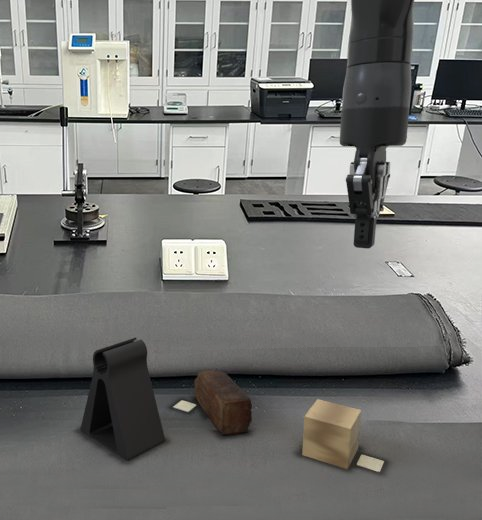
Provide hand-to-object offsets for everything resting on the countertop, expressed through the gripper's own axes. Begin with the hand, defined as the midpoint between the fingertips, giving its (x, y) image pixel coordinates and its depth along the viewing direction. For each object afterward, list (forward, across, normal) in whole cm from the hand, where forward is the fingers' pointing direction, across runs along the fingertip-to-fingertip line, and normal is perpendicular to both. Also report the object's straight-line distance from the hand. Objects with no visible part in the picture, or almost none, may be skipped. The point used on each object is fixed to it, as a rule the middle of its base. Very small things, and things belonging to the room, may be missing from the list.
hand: (363, 246), depth 68 cm
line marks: (+22, -13, +6) cm, 26 cm away
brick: (+22, -12, +13) cm, 29 cm away
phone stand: (+22, -24, +21) cm, 39 cm away
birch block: (+22, -13, -1) cm, 26 cm away
